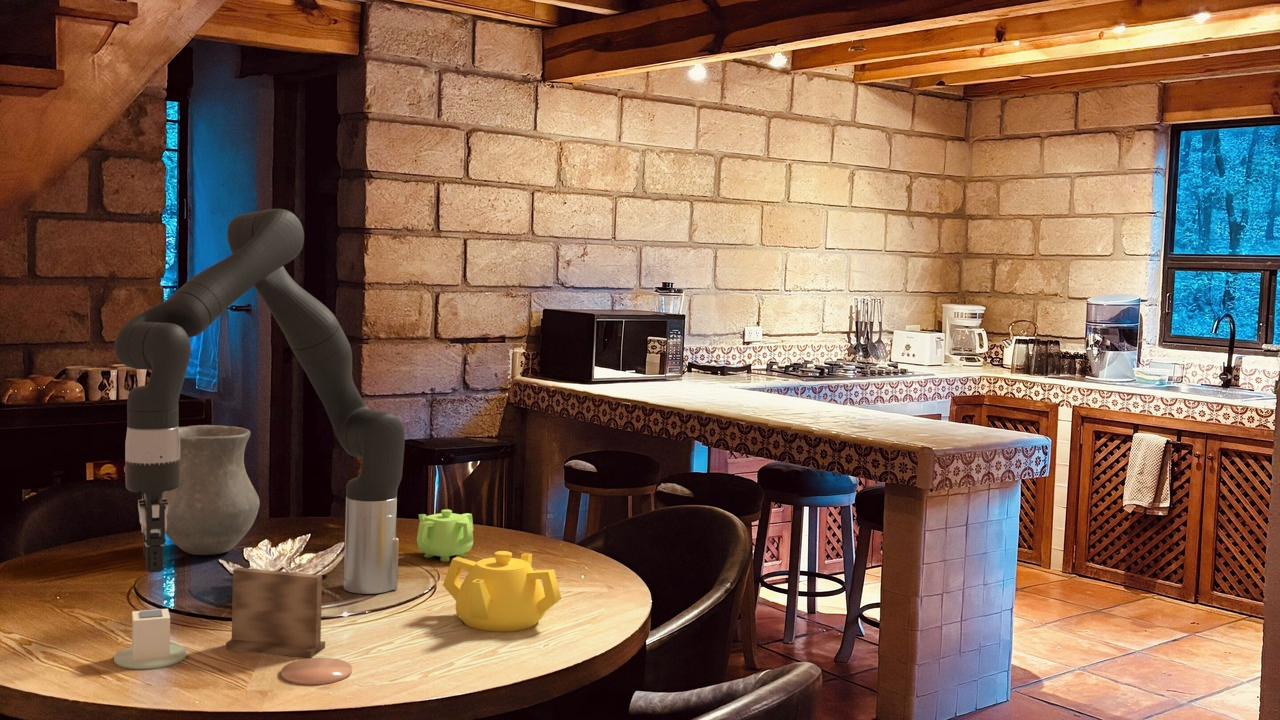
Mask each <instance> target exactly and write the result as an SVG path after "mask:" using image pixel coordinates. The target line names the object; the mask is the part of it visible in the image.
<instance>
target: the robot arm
mask: <svg viewBox="0 0 1280 720" xmlns="http://www.w3.org/2000/svg"><path fill="white" fill-rule="evenodd" d="M226 234H227V235H226V236H227V237H226V238H227V243H228V246H229V250H230V251H231V254H230V255H228V256H227V257H225V258H223V259H221V260H220V261H218V262H216V263H214V264H212V265H210V266H208V267H207V268H205V269H203V270H202V271H200V272H199V273H197V274H195V275H194V276H193V277H191V278H190V279H188V280H187V281H186V282H185V283H183V285H181V287H179V289H177V290H176V291H175V292H174V293H172V295H171V296H170V297H168V298H167V299H166V300H164V301H163V302H161V303H158V304H155V305H154V306H152V307H150V308H149V309H147V310H145V311H143V312H141V313H139V314H138V315H135V316H134V317H132V318H131V319H130V320H128V321H127V322H126V323H125V324H124V325H123V326H122V327H121V329H120V330H119V331H118V333H117V335H116V338H115V341H114V352H115V356H116V358H117V359H118V361H119V362H120V363H122V365H124V366H125V367H128V368H131V369H136V370H138V369H139V370H146V371H147V370H148V371H149V370H151V372H150V373H151V374H150V377H149V379H148V382H147V384H145V385H140V386H137V387H133V388H131V390H129V391H128V393H127V394H128V395H127V401H126V402H127V403H126V409H127V410H126V415H127V416H126V419H127V421H126V425H127V428H126V436H125V442H124V443H125V446H124V447H125V450H124V452H125V453H124V455H125V458H124V459H125V460H124V461H125V463H124V464H125V466H124V467H125V473H124V474H125V481H124V482H125V484H124V485H125V488H126V489H127V490H128V491H130V492H133V493H134V492H135V493H140V494H141V499H138V500H137V503H138V504H137V508H138V516H139V523H140V525H141V527H140V528H141V533H142V534H143V557H144V559H146V567H145V568H146V571H147V572H148V573H160V572H162V571H163V569H164V547H165V545H166V542H167V540H166V534H165V532H166V531H167V514H168V502H167V499H162V494H163V492H164V491H171V490H174V489H177V488H178V487H179V486H180V436H179V427H180V426H179V423H180V422H179V420H180V419H179V418H180V417H179V415H180V414H179V412H180V411H179V406H180V405H179V399H180V396H181V392H182V388H183V385H184V381H185V378H186V374H187V370H188V367H189V364H190V360H191V355H192V354H191V353H192V346H191V340H190V339H191V338H194V337H197V336H199V335H200V334H202V333H203V332H204V331H206V329H208V328H209V327H210V326H211V325H212V324H213V323H214V322H215V321H216V320H217V319H218V318H219V317H220V316H221V315H222V314H223V313H224V312H225V311H226V310H227V309H228V308H229V307H230V306H231V305H233V303H235V302H236V301H237V300H238V299H239V298H241V297H242V296H243V295H244V294H245V293H247V292H248V291H249V290H251V289H252V288H253V287H254V289H256V291H257V293H258V294H259V296H260V297H261V298H262V299H263V301H264V303H265V304H266V306H267V308H268V309H269V311H270V313H271V314H272V316H273V318H274V320H275V321H276V323H277V324H278V327H280V329H281V331H282V333H283V335H284V337H285V338H286V341H287V343H288V345H289V346H290V348H291V350H292V352H293V354H294V356H295V357H296V359H297V361H298V363H299V365H301V368H302V369H303V371H304V372H305V374H306V376H307V378H308V379H309V381H310V383H311V385H312V387H313V389H314V390H315V392H316V394H317V395H318V397H319V399H320V401H321V402H322V404H323V407H324V409H325V411H326V414H327V416H328V418H329V420H330V421H329V422H330V423H331V426H332V428H333V430H334V433H335V436H336V437H337V440H338V442H339V444H340V446H341V447H342V448H343V449H344V451H345V452H346V453H347V454H348V455H350V456H352V457H353V458H356V459H357V458H358V459H360V460H361V459H362V460H361V461H362V462H361V470H360V474H359V475H358V476H357V477H354V478H352V479H350V480H348V481H347V483H346V488H345V489H346V490H345V527H344V529H345V530H344V531H345V532H344V561H343V563H344V567H343V570H344V571H343V589H344V590H345V591H347V592H349V593H354V594H359V595H360V594H363V595H364V594H365V595H370V594H371V595H372V594H374V595H375V594H381V593H387V592H389V591H395V590H397V591H398V580H399V579H398V578H399V577H398V576H399V575H398V574H399V547H400V546H399V544H400V543H399V538H397V510H398V509H397V504H398V503H397V502H398V498H397V497H398V488H399V486H400V484H401V481H402V477H403V469H404V468H403V467H404V455H405V443H406V442H405V441H406V440H405V439H406V438H405V428H404V425H403V423H402V421H401V419H400V417H398V416H397V415H395V414H393V413H391V412H386V411H381V410H374V409H371V408H370V407H368V405H367V404H366V402H365V401H364V399H363V397H362V396H361V394H360V392H359V390H358V389H357V387H356V384H355V382H354V378H353V352H352V348H351V344H350V342H349V340H348V337H347V336H346V334H345V332H344V330H343V329H342V326H341V324H340V322H339V321H338V319H337V318H336V316H335V314H334V313H333V312H332V311H331V310H330V309H329V308H328V307H327V306H326V305H325V304H323V302H321V301H320V300H319V299H317V298H316V297H314V296H313V295H312V294H310V293H309V292H308V291H306V290H305V289H304V288H302V286H300V285H299V284H298V283H297V282H296V281H295V280H294V279H293V278H292V277H291V275H290V274H289V272H288V271H287V270H286V268H285V266H286V264H288V263H290V262H291V261H293V260H295V258H297V257H298V255H300V253H301V251H302V250H303V248H304V242H305V232H304V227H303V225H302V222H301V221H300V219H299V218H298V217H297V216H296V215H295V214H294V213H293V212H292V211H290V210H287V209H283V208H269V209H265V210H260V211H254V212H247V213H243V214H239V215H236V216H235V217H234V218H232V219H231V220H230V221H229V224H228V226H227V232H226Z"/></svg>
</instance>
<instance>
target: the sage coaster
mask: <svg viewBox="0 0 1280 720" xmlns="http://www.w3.org/2000/svg"><path fill="white" fill-rule="evenodd" d="M186 657H187V650H186V648H185V647H183V646H181V645H178V644H173V643H170V657H168V658H158V659H147V660H137V661H133V656H132V646H130V647H127V648H124V649H120V650H119V651H117V652H116V653H115V654H114V656H113V662H114V664H115V665H116V666H118V667H120V668H124V669H130V670H151V669H152V670H153V669H154V670H155V669H161V668H165V667H171V666H173V665H176V664H178V663H180V662H182V661H184V660H185V659H186Z"/></svg>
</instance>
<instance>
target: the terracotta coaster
mask: <svg viewBox="0 0 1280 720" xmlns="http://www.w3.org/2000/svg"><path fill="white" fill-rule="evenodd" d="M352 672H353V666H352V664H351V663H349V662H348V661H346V660H343V659H339V658H334V657H311V658H302V659H299V660H294V661H292V662H288V663H287V664H285V665H284V666H283V667H282V668H281V674H280V676H281V677H282V679H283V680H285V681H287V682H289V683H292V684H296V685H305V686H306V685H307V686H315V685H319V686H320V685H326V684H327V685H328V684H333V683H337V682H340V681H343V680H345V679H347V678H349V677H350V676H351V675H352Z"/></svg>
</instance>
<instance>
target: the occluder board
mask: <svg viewBox="0 0 1280 720" xmlns="http://www.w3.org/2000/svg"><path fill="white" fill-rule="evenodd" d="M322 593H323V575H321V574H315V573H314V574H311V573H300V572H289V571H280V570H279V571H278V570H269V569H258V568H247V567H237V568H234V569H233V570H232V602H231V603H232V605H231V606H232V607H231V609H232V610H231V639H230V640H228V641H226V642H225V650H232V651H242V652H244V651H245V652H251V653H261V654H272V655H279V656H288V657H289V656H291V657H298V658H306V659H309V658H314V656H315V655H317V654H319V653H320V652H321V651H323V650H324V649H326V641H325V640H322V639H321V638H322V636H321V634H322V627H321V626H322V600H323V599H322V598H323V594H322Z"/></svg>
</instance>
